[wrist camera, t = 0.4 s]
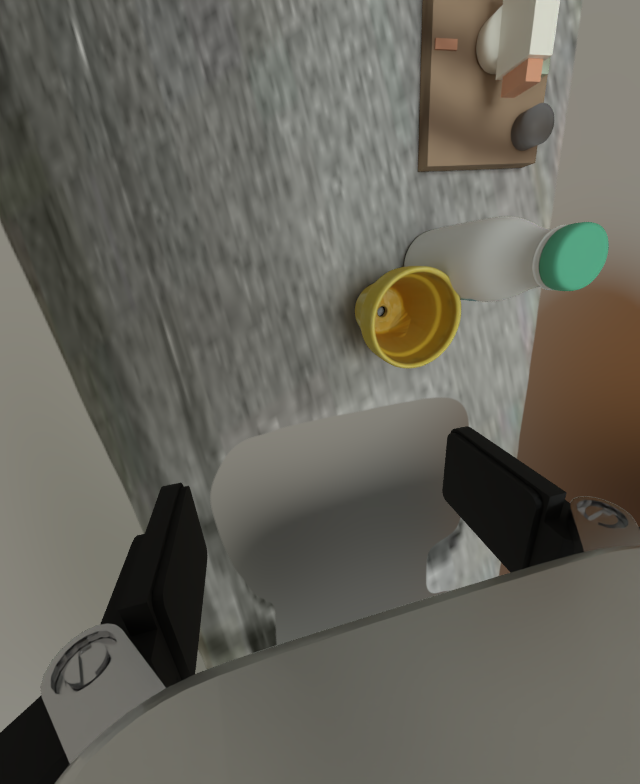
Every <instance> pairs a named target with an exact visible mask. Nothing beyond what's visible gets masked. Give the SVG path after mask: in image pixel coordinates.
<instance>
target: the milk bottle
mask: <svg viewBox="0 0 640 784" xmlns="http://www.w3.org/2000/svg"><path fill="white" fill-rule="evenodd" d="M607 254H608V237H607V234H606V232H605V230H604V229H603V227H602V226H600V225H599V224H596V223H592V222H582V223H575V224H570V225H562V226H558V227H556V228H554V229H552V230H551V229H546V228H543V227H540V226H538V225H537V224H535V223H533V222H531V221H528V220H526V219H522V218H518V217H494V218H487V219H481V220H476V221H471V222H466V223H461V224H456V225H452V226H447V227H442V228H438V229H433V230H430V231H427V232H424V233H423V234H421V235H420V236H418V237H417V238H416V239H415V240H414V241H413V243H412V244H411V246H410V247H409V249H408V251H407V253H406V257H405V263H404V267H407V266H429V267H433V268H436V269H439V270H441V271H442V272H444V273H445V274H446V275H448V276H449V278H450V282H451V285H452V287H453V289H454V290H455V291H456V293H457V294H458V295H459V296H460V300H469V301H482V302H491V301H500V300H505V299H509V298H512V297H515V296H517V295H519V294H521V293H523V292H526V291H528V290H530V289H533V288H537V287H541V288H543V289H546V290H559V291H573V290H578V289H581V288H583V287H585V286H587V285H588V284H590V283H591V282H592V281H593V280H594V279H595V278H596V277H597V275H598V274H599V273H600V271H601V269H602V268H603V266H604V263H605V261H606V258H607Z"/></svg>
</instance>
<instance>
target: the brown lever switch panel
mask: <svg viewBox="0 0 640 784" xmlns="http://www.w3.org/2000/svg"><path fill="white" fill-rule="evenodd" d="M502 5H503V0H423V5H422V42H421V80H420V117H419V154H418V172H424V171H451V170H477V169H504V168H522V167H525V166H528V165H530V164H533V163H535V159H536V152H537V145H539V144H541V143H543V142H545V141H546V140H547V139H548V137H549V136H550V134H551V132H552V130H553V126H554V113H553V110H552V108H551V107H550V106H549V105H548V104H546V103H544V96H545V89H546V82H547V75H548V72H549V65H550V58H551V57H549V58H548V59H546V60H545V61H543V66H542V73H541V80H540V82H539V83H537V84H536V85H534V86H533V87H531V88H529V89H528V90H526V91H525V92H523V93H521V94H520V95H518V96H517V97H515V98H501V90H502V80H495V79H496V74H489V73H487V72H485V71H484V70H483V69H482V67H481V66H480V64H479V62H478V58H477V53H476V44H477V38H478V34H479V32H480V30H481V28H482V26H483V25H484V23H485V22H486V21H487V20H488V19H489V18H490V17H491V16H492V15H493V14H494V13H495V12H496V11H497V10H498V9H499V8H500V7H501V6H502Z"/></svg>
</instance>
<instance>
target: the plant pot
mask: <svg viewBox="0 0 640 784" xmlns="http://www.w3.org/2000/svg"><path fill="white" fill-rule="evenodd" d="M381 306H383V307H384V308H385V313H384V315H383V316H378V313H377V311H378V309H379V307H381ZM355 317H356V321H357V323H358V325H359V326H360V328H361V332H362V335H363V338H364V341H365V343H366V344H367V346H368V347H369V349H370V350H371V351H372V352H373V353H375V354H376V355H377V356H378V357H380V358H381V359H383V360H384V361H386V362H387V363H389V364H391V365H394V366H396V367H400V368H416V367H420V366H423V365H426V364H428V363H430V362H432V361H433V360H435V359H436V358H437V357H439V356H440V355H441V354H442V353H443V352H444V351H445V350H446V349H447V347H448V346H449V345H450V343H451V342H452V340H453V338H454V336H455V334H456V332H457V329H458V326H459V323H460V318H461V301H460V296H459V295H458V294H457V293H456V291H455V290H454V289H453V287H452V285H451V282H450V278H449V276H448V275H446V274H445V273H444V272H442V271H441V270H439V269H436V268H433V267H429V266H407V267H401V268H397V269H394V270H391V271H389V272H388V273H386V274H384V275H383V276H382V277H380V278H379V279H378V280H377V281H376V282H375V283H373V284H371V285H369V286H368V287H366V288H365V289H364V290H363V291H362V292H361V294H360V295H359V297H358V299H357V301H356V305H355Z"/></svg>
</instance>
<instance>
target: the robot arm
mask: <svg viewBox="0 0 640 784" xmlns="http://www.w3.org/2000/svg"><path fill="white" fill-rule="evenodd" d="M443 496H444V498H445V500H446V501H447V502H448V504H449V505H450V506H451V507H452V508H453V509H454V510H455V511H456V512H457V514H458V515H459V516H460V517H461V518H462V519H463V520H464V521H465V522H466V524H467V525H468V526H469V527H470V528H471V529H472V530H473V531H474V532H475V534H476V535H477V536H478V537H479V538H480V539H481V540H482V541H483V542H484V544H485V545H486V546H487V547H488V548H489V549H490V550H491V551H492V552H493V554H494V555H495V556H496V557H497V558H498V559H499V560H500V561H501V562H502V564H503V565H504V566H505V567H506V568H507V569H508V570H509V571H510V572H511V573H509V574H505V575H501V576H498V577H495V578H491V579H488V580H485V581H482V582H478V583H475V584H472V585H468V586H465V587H462V588H458V589H455V590H452V591H449V592H446V593H442V594H439V595H436V596H432V597H429V598H426V599H423V600H419V601H416V602H413V603H410V604H406V605H403V606H400V607H397V608H393V609H390V610H387V611H384V612H381V613H377V614H374V615H371V616H368V617H365V618H361V619H358V620H355V621H352V622H349V623H345V624H342V625H339V626H336V627H333V628H329V629H326V630H323V631H320V632H317V633H314V634H311V635H307V636H304V637H301V638H298V639H295V640H291V641H288V642H285V643H282V644H279V645H276V646H273V647H270V648H267V649H264V650H261V651H258V652H255V653H252V654H249V655H246V656H243V657H240V658H237V659H234V660H231V661H228V662H226V663H223V664H220V665H218V666H215V667H213V668H210V669H208V670H205V671H202V672H200V673H197V674H195V670H196V661H197V651H198V642H199V632H200V623H201V614H202V604H203V595H204V585H205V576H206V567H207V548H206V544H205V540H204V537H203V533H202V530H201V526H200V522H199V519H198V515H197V512H196V508H195V504H194V501H193V497H192V494H191V490H190V487H189V486H185V487H184V486H183V484H182V483H177V484H172V485H167V486H163V487H162V488H161V490H160V493H159V495H158V498H157V501H156V504H155V507H154V510H153V512H152V515H151V518H150V521H149V524H148V527H147V529H146V532H145V534H142V535H137V536H136V537H135V538H134V540H133V542H132V544H131V547H130V550H129V552H128V555H127V557H126V560H125V563H124V565H123V568H122V570H121V573H120V575H119V578H118V580H117V583H116V586H115V588H114V591H113V593H112V596H111V598H110V601H109V604H108V606H107V609H106V611H105V614H104V616H103V619H102V622H101V624H100V625H97V626H94V627H92V628H90V629H87V630H85V631H84V632H82V633H80V634H79V635H78V636H76V637H74V638H73V639H72V640H71V641H70V642H68V643H67V644H66V645H65V646H64V647H63V648H62V649H61V650H60V651H59V652H58V654H57V655H56V656H55V657H54V659H53V660H52V661H51V663H50V664H49V666H48V668H47V670H46V672H45V673H44V676H43V680H42V683H41V696H40V697H39V698H38V699H37V700H36V701H35V702H34V703H33V704H31V706H29V707H28V708H27V709H26V710H25V711H24V712H23V713H21V715H19V716H18V717H17V718H16V719H15V720H14V721H13V722H12V723H11V724H9V725H8V726H7V727H6V728H5V729H4V730H3V731H2V732H1V733H0V784H640V527H638V526H637V524H636V522H635V520H634V519H633V518H632V516H631V515H630V514H629V513H627V512H626V511H625V510H624V509H622V508H620V507H619V506H617V505H615V504H613V503H610V502H608V501H605V500H602V499H598V498H595V497H587V496H586V497H585V496H584V497H577V498H574V499H573V500H572V501H571V503H569V502H567V501H566V500H565V497H566V492H565V491H563V490H562V489H560V488H559V487H557V486H556V485H555V484H553V483H552V482H550V481H549V480H547V479H546V478H544V477H543V476H541V475H540V474H538V473H537V472H535V471H534V470H532V469H531V468H529V467H528V466H526V465H525V464H524V463H522V462H521V461H519V460H518V459H516V458H515V457H513V456H512V455H510V454H509V453H507V452H506V451H504V450H503V449H501V448H500V447H498V446H497V445H496V444H494V443H493V442H491V441H490V440H488V439H487V438H485V437H484V436H482V435H481V434H479V433H478V432H476V431H475V430H473V429H472V428H470V427H461V428H456V429H453V430H452V431H451V434H449V435H448V438H447V447H446V458H445V469H444V480H443Z"/></svg>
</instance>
